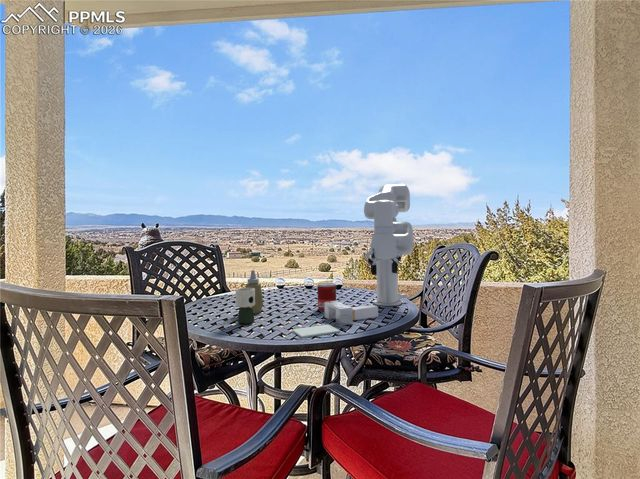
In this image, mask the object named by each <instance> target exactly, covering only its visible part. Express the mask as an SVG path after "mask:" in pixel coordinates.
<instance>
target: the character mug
mask: <svg viewBox="0 0 640 479" xmlns="http://www.w3.org/2000/svg"><path fill="white" fill-rule="evenodd" d="M254 305H255V289H254V288H245V287H241V288H236V289H235V307H238V312H237V314H238V315H237V323H238V324H243V325H246V324H253V323H254V321H255V314H253V309H252V306H254Z"/></svg>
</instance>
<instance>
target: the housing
mask: <svg viewBox="0 0 640 479" xmlns="http://www.w3.org/2000/svg"><path fill="white" fill-rule="evenodd" d="M324 305H325V311H324V318H325V319H327V320H335V324H337V325H338V326H347V325H353V324H354V320H353V308H352V307H353V306H350V305H347V304H345V303H342V302H340V301H337V300H336V301H330V302H324ZM335 318H336V319H335Z"/></svg>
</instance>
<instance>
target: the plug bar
mask: <svg viewBox="0 0 640 479" xmlns="http://www.w3.org/2000/svg"><path fill="white" fill-rule="evenodd" d="M351 307H352V308H353V321H357V320H363V319H372V318H378V317H379V306H378V305H375V304H370V305H369V304H368V305H360V306H351Z"/></svg>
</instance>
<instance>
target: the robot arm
mask: <svg viewBox="0 0 640 479" xmlns="http://www.w3.org/2000/svg"><path fill="white" fill-rule="evenodd" d="M410 207H411V193H410V189H409V186H407V185H406V184H404V183H401V184H400V183H397V184H395V183H393V184H385V185H382V186H381V187H380V188H379V190H378V193H376V194H374V195H371V196H369V197H368V198H366V200H365V203H364V206H363V214H364V217H365V218H366V219H368V220H373V224H374V225H373V230H374V231H373V232H374V234H372V236H371V242H370V250H368V252H365V254H364V257H365V259H366V261H367V262H368V264H369V265H370V275H373V276H376V299H374V300H373V305H375V306H381V307H395V306H400V305H402V302H403V301H402V299H407V298H408V294H407V293H402V294H401V293H399V280H398V279H399V276H398V275H399V273H398V272H399V268H398V267H399V263H400V261H401V260H402V257H403V256H409V255H411V254H412V253H413V251H414V246H415V242H414V230H413V229H414V228H413V226H412V224H411V222H409V221H398V220H397V218H396V217H397V216H398V215H399V213H407V212H408V211H409V210H410Z"/></svg>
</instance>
